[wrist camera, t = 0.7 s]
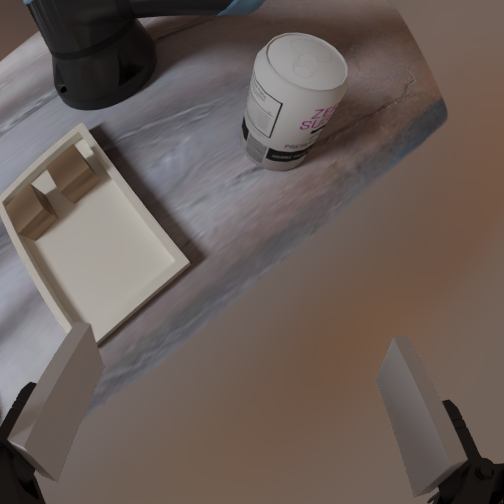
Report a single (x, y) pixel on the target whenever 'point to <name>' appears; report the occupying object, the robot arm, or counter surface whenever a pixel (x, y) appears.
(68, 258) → the tray
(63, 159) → the walnut block
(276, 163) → the supplement can
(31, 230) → the walnut block
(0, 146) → the counter surface
